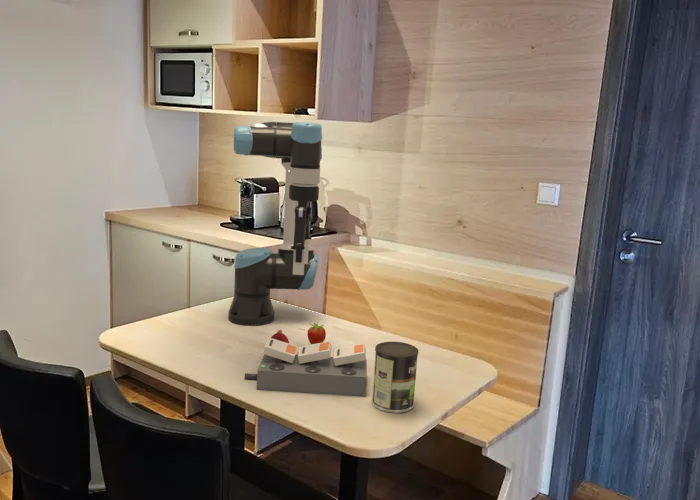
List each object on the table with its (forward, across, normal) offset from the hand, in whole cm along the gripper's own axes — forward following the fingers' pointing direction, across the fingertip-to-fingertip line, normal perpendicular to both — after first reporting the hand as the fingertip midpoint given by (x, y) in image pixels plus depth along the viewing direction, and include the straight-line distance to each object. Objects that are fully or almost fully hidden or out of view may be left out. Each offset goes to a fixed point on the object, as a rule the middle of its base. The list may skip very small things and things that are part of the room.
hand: (300, 268), depth 164 cm
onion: (+28, -8, -6) cm, 30 cm away
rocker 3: (+20, +5, +14) cm, 25 cm away
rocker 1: (+21, +5, -4) cm, 22 cm away
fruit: (+28, -17, +4) cm, 33 cm away
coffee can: (+28, +17, +25) cm, 41 cm away
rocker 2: (+20, +5, +5) cm, 22 cm away
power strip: (+28, +8, +3) cm, 29 cm away
